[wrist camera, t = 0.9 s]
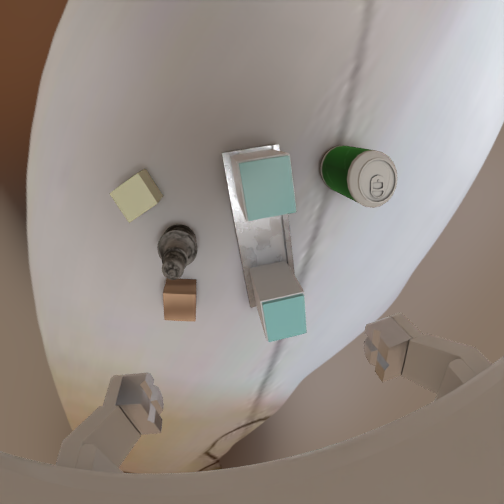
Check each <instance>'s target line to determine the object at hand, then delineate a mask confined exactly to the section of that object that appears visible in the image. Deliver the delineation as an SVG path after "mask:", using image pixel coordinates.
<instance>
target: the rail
mask: <svg viewBox="0 0 504 504" xmlns="http://www.w3.org/2000/svg"><path fill="white" fill-rule="evenodd" d="M267 149H274V150H278V151H280V150H279V145H277V144H274V145H267V146H260V147H254V148H247V149H241V150H236V151H230V152H224V153H222V157H223V163H224V168H225V174H226V180H227V185H228V191H229V196H230V202H231V207H232V213H233V218H234V223H235V229H236V234H237V240H238V245H239V250H240V256H241V261H242V266H243V271H244V277H245V282H246V287H247V292H248V298H249V303H250V307H255V306H256V302H255V296H254V291H253V285H252V279H251V274H250V268H253V267H258V266H263V265H268V264H272V263H277V262H282V261H286V262H287V264H288V265H289V267H290V269H291V270H292V272H293V274H294V265H293V255H292V246H291V237H290V228H289V219H288V214H284V215H279V216H274V217H268V218H263V219H258V220H253V221H247V222H246V219H245V217H244V215H243V213H242V210H241V208H240V206H239V204H238V200H237V195H236V189H235V183H234V177H233V172H232V166H231V160H230V155H236V154H241V153H247V152H254V151H260V150H267Z"/></svg>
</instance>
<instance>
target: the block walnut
mask: <svg viewBox="0 0 504 504" xmlns="http://www.w3.org/2000/svg"><path fill="white" fill-rule="evenodd" d="M163 301H164V319H165V320H174V321H195V319H196V279H176V280H170V279H168V278H167V279H166V283H165V287H164V292H163Z"/></svg>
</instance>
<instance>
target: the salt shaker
mask: <svg viewBox="0 0 504 504" xmlns="http://www.w3.org/2000/svg"><path fill="white" fill-rule="evenodd" d="M158 253H159V256H160V258H161V259H162V263H163V265H162V272H163V274H164V276H165V277H166V278H168V279H170V280H176V279H178V278H180V277H181V276H182V274H183V272H184V269H185V268H186V266H187V265H189V264H190V263H191V262H192V261H193V260H194V259H195V257H196V254H197V244H196V237H195V234H194V233H193V231H192V230H191V229H190V228H188V227H187V226H184V225H174V226H171V227H170V228H168V229H167V230H166V232H165V233H164V235H163V236H162V237H161V239H160V241H159V243H158Z"/></svg>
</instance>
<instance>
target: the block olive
mask: <svg viewBox="0 0 504 504" xmlns="http://www.w3.org/2000/svg"><path fill="white" fill-rule="evenodd" d="M110 195H111V197H112V198H113V200H114V201H115V203H116V204H117V206H118V207H119V209H120V210H121V212H122V213H123V215H124V216H125V217H126V219H127V220H128V222H129V223H130V222H131V221H133V220H134V219H136V218H137V217H138V216H140V215H141V214H143V213H144V212H146V211H147V210H149V209H150V208H152V207H153V206H155V205H156V204H158V202H159V201H160V200H161V198H162V197H163V195H162V194H161V192H160V190H159V189H158V187H157V186H156V184H155V183H154V181H153V180H152V178H151V177H150V175H149V173H148V172H147V170H146V169H144V170H142V171H140V172H139V173H137V174H136V175H134V176H133V177H131V178H130V179H129V180H127V181H126V182H124V183H123V184H122V185H120V186H119V187H118V188H116V189H115V190H114V191H112V192H111V193H110Z"/></svg>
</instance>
